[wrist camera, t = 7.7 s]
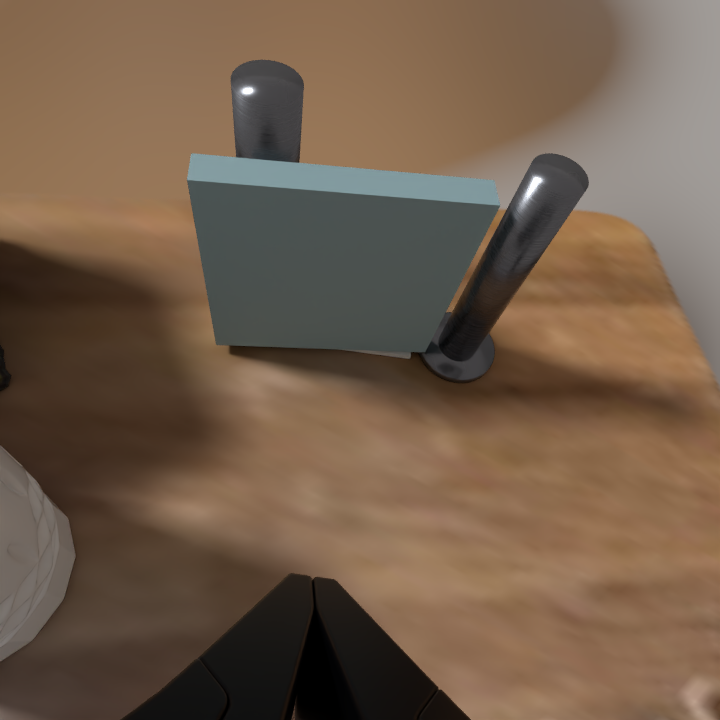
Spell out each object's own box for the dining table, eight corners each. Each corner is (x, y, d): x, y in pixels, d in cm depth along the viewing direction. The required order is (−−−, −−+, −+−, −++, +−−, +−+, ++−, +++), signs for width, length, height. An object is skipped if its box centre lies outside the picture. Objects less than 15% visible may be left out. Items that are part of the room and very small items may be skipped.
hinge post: (505, 350, 28) (637, 180, 18) (462, 397, 26) (581, 239, 16) (447, 303, 29) (541, 118, 19) (401, 346, 27) (478, 167, 17)
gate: (422, 332, 27) (493, 180, 18) (425, 352, 26) (500, 205, 18) (218, 323, 25) (191, 153, 17) (216, 345, 25) (187, 180, 16)
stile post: (312, 290, 28) (335, 88, 18) (267, 325, 26) (265, 126, 16) (270, 255, 28) (269, 42, 19) (224, 286, 27) (197, 74, 17)
